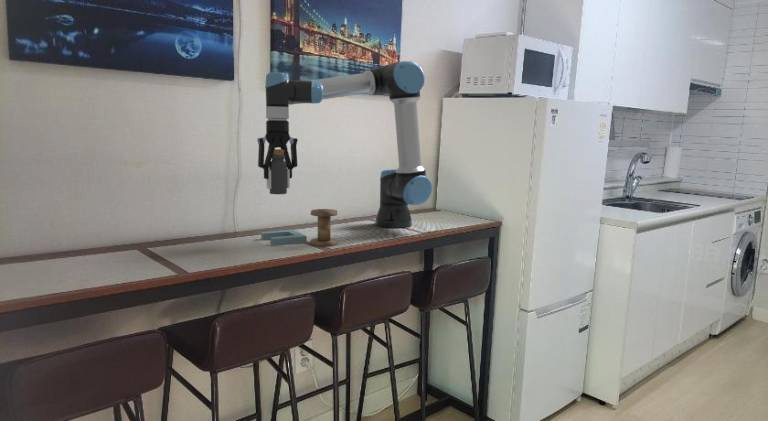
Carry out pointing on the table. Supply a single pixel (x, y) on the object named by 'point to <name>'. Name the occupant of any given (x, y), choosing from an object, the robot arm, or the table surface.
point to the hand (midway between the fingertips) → (278, 188)
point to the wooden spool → (324, 227)
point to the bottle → (278, 173)
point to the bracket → (284, 237)
